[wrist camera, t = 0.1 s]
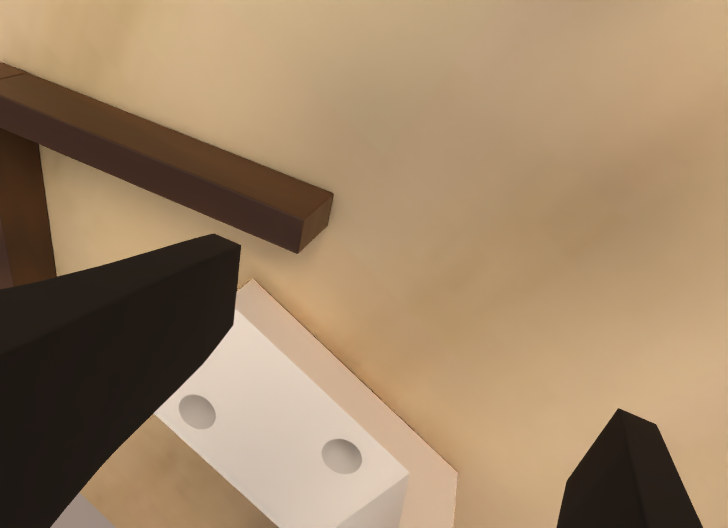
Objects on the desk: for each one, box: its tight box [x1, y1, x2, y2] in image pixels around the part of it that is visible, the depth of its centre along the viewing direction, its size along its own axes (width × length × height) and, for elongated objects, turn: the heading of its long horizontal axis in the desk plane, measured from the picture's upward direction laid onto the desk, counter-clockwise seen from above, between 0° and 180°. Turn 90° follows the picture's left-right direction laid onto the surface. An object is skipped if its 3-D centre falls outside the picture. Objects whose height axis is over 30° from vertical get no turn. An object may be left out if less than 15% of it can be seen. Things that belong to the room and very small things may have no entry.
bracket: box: [154, 278, 458, 528], centre depth 24 cm, size 13×7×8 cm, turn 51°
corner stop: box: [0, 63, 333, 289], centre depth 27 cm, size 17×16×2 cm
